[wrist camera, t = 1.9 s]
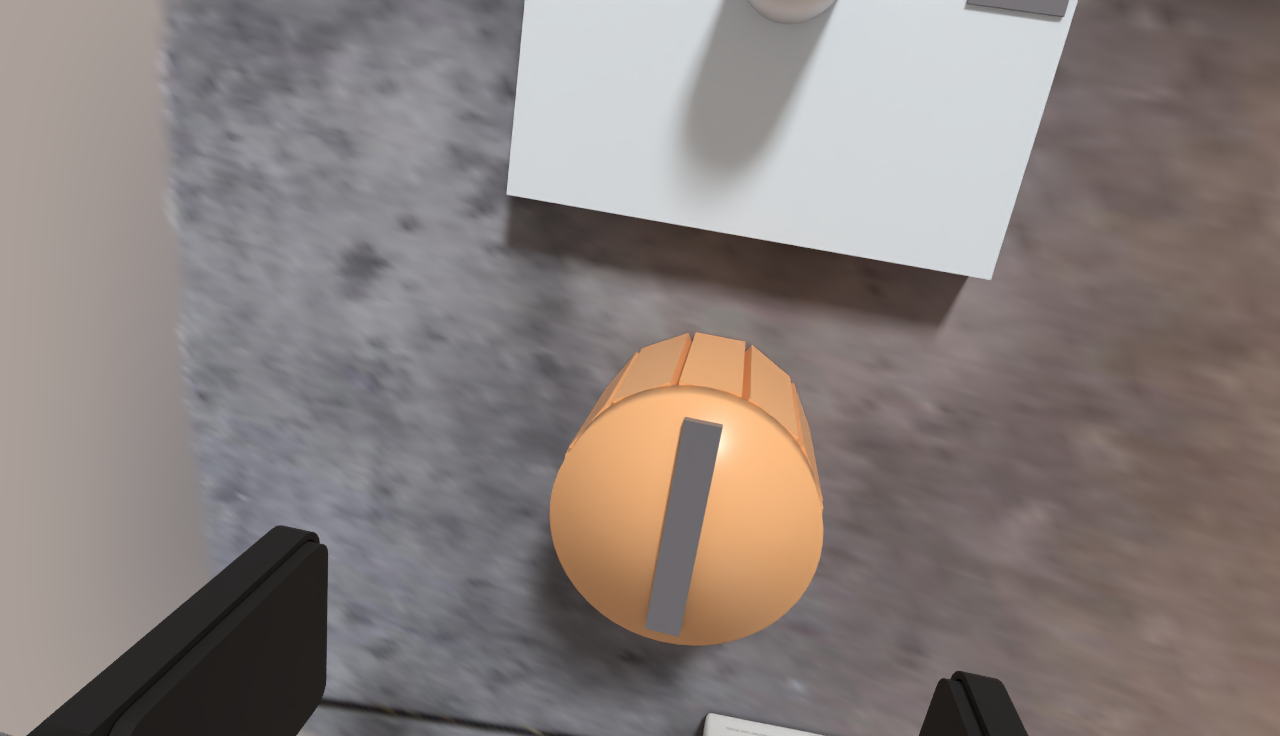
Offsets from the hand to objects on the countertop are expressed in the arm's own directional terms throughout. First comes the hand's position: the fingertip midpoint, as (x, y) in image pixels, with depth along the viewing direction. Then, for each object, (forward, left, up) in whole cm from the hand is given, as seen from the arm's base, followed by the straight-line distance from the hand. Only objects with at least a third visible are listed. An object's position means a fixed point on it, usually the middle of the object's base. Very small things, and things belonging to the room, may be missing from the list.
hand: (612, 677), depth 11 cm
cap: (0, -1, -11) cm, 11 cm away
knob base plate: (+12, -1, -11) cm, 16 cm away
